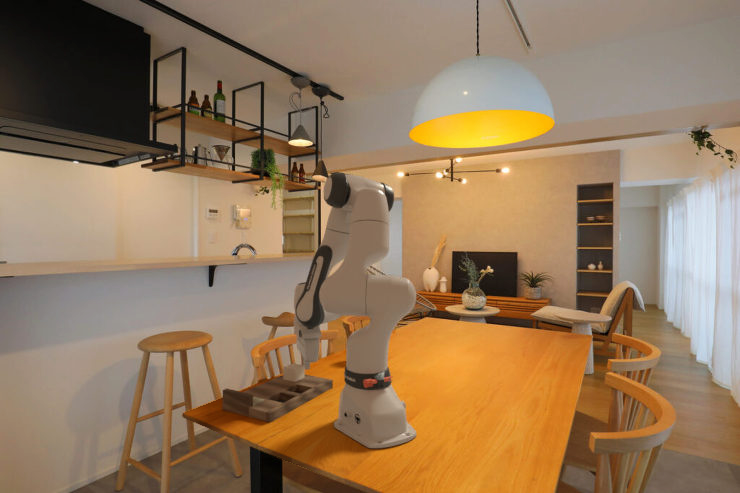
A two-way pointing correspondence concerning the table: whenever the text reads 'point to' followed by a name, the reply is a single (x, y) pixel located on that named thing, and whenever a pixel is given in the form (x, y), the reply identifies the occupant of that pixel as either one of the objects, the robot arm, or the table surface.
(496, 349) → the table surface
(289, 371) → the block
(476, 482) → the table surface
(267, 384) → the wooden compartment tray
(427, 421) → the table surface
